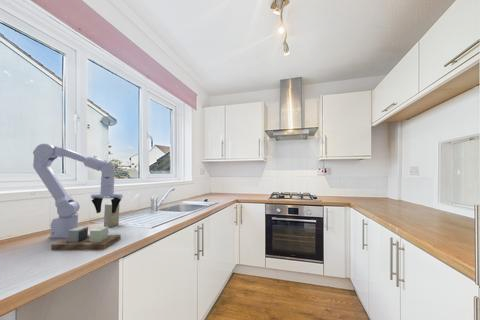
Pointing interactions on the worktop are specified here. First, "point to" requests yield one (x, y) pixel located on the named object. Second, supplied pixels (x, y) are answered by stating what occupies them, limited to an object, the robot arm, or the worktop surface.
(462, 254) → the worktop surface
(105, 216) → the skincare box
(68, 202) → the robot arm
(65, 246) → the brown wooden frame
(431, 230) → the worktop surface
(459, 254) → the worktop surface
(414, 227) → the worktop surface
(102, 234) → the block
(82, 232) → the grey block
